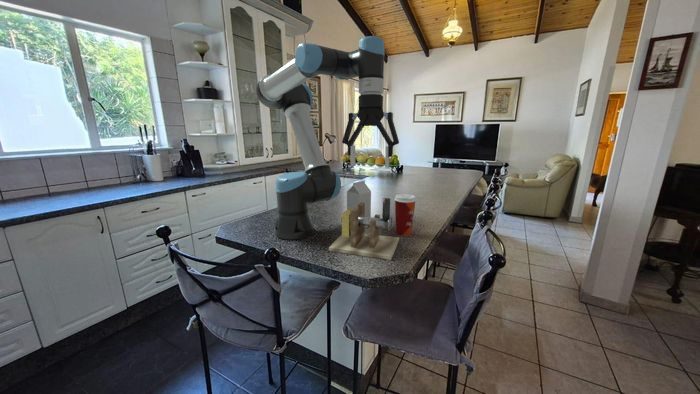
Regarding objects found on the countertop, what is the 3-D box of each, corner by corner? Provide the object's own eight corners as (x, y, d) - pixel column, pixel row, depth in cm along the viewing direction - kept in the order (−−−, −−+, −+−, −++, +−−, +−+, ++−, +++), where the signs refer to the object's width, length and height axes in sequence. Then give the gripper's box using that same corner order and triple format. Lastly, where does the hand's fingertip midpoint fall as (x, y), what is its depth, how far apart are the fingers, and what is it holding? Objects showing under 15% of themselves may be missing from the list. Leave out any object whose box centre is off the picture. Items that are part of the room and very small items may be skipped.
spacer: (342, 236, 94) (341, 214, 92) (349, 228, 101) (349, 207, 99) (348, 237, 93) (348, 214, 91) (356, 229, 100) (356, 208, 98)
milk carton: (370, 226, 115) (371, 181, 111) (359, 230, 110) (359, 184, 106) (358, 222, 120) (358, 179, 115) (346, 226, 115) (346, 181, 110)
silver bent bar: (340, 226, 95) (340, 196, 93) (344, 222, 99) (344, 193, 97) (389, 232, 90) (390, 200, 87) (391, 227, 94) (393, 197, 91)
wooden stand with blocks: (328, 250, 92) (328, 210, 89) (345, 233, 107) (344, 199, 103) (390, 260, 86) (392, 217, 82) (399, 240, 100) (400, 203, 97)
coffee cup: (414, 238, 103) (416, 199, 99) (392, 236, 104) (393, 198, 101) (414, 230, 111) (416, 194, 107) (393, 228, 112) (394, 193, 109)
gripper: (331, 94, 84) (332, 166, 89) (407, 91, 77) (404, 169, 82) (339, 97, 91) (340, 163, 96) (410, 94, 84) (407, 166, 89)
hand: (369, 166), depth 89 cm, fingers open, 11 cm apart
